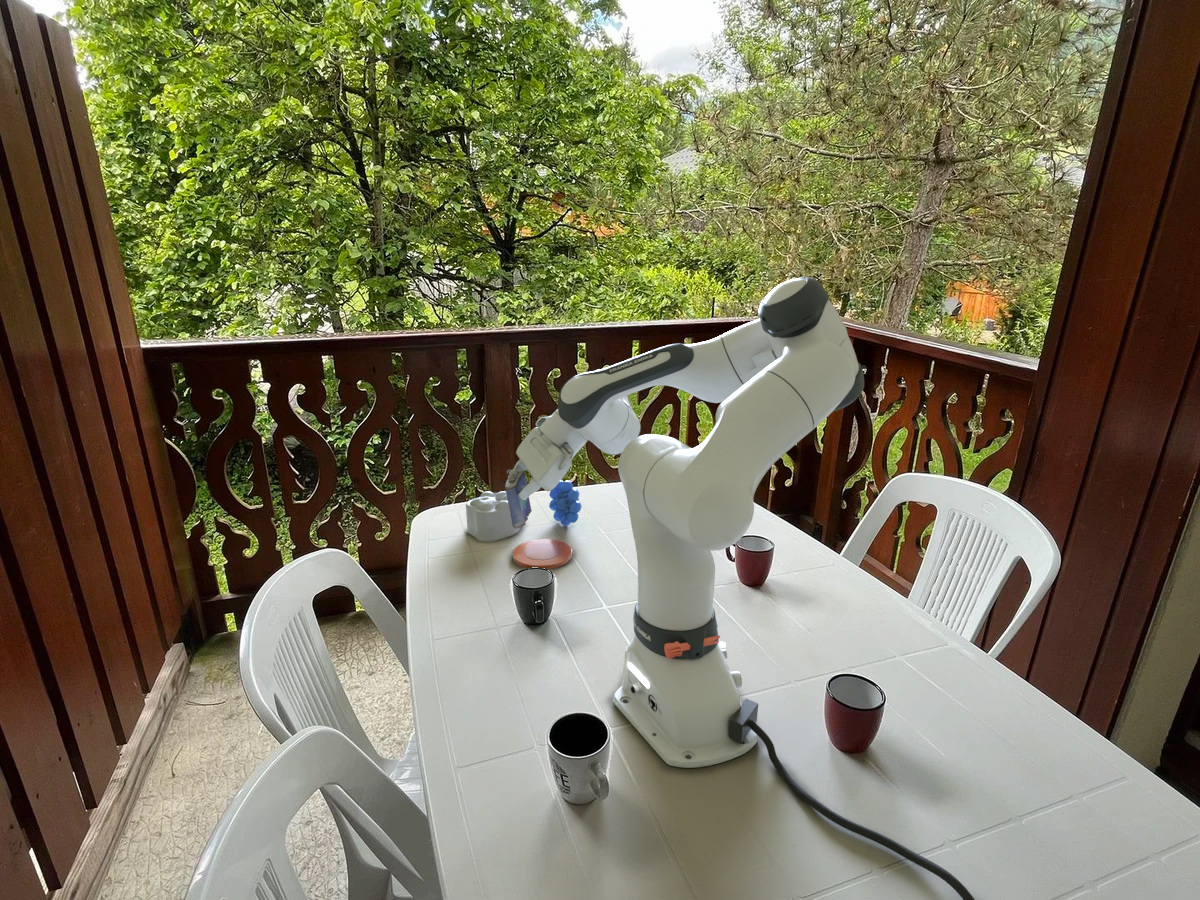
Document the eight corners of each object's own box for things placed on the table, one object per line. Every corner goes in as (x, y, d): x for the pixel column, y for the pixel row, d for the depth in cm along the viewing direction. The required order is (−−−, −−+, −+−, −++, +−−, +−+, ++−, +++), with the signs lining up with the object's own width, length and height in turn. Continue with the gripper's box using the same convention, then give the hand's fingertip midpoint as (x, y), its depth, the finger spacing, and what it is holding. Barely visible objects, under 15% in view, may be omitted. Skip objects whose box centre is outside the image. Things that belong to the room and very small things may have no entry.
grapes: (594, 528, 154) (593, 482, 150) (571, 536, 150) (571, 488, 146) (565, 513, 162) (564, 469, 159) (543, 520, 158) (542, 475, 155)
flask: (523, 528, 124) (513, 477, 121) (509, 529, 125) (498, 479, 122) (533, 508, 133) (524, 461, 130) (520, 510, 134) (510, 462, 130)
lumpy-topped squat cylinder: (462, 529, 153) (460, 496, 151) (508, 515, 161) (507, 483, 159) (484, 544, 146) (482, 509, 143) (531, 528, 154) (530, 495, 151)
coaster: (579, 564, 136) (579, 560, 136) (519, 574, 132) (519, 569, 132) (562, 539, 148) (562, 535, 148) (507, 547, 144) (507, 543, 144)
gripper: (588, 462, 119) (538, 517, 119) (559, 433, 137) (516, 481, 137) (564, 442, 116) (514, 498, 116) (538, 415, 135) (494, 464, 135)
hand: (515, 488), depth 127 cm, fingers closed on flask, 8 cm apart
